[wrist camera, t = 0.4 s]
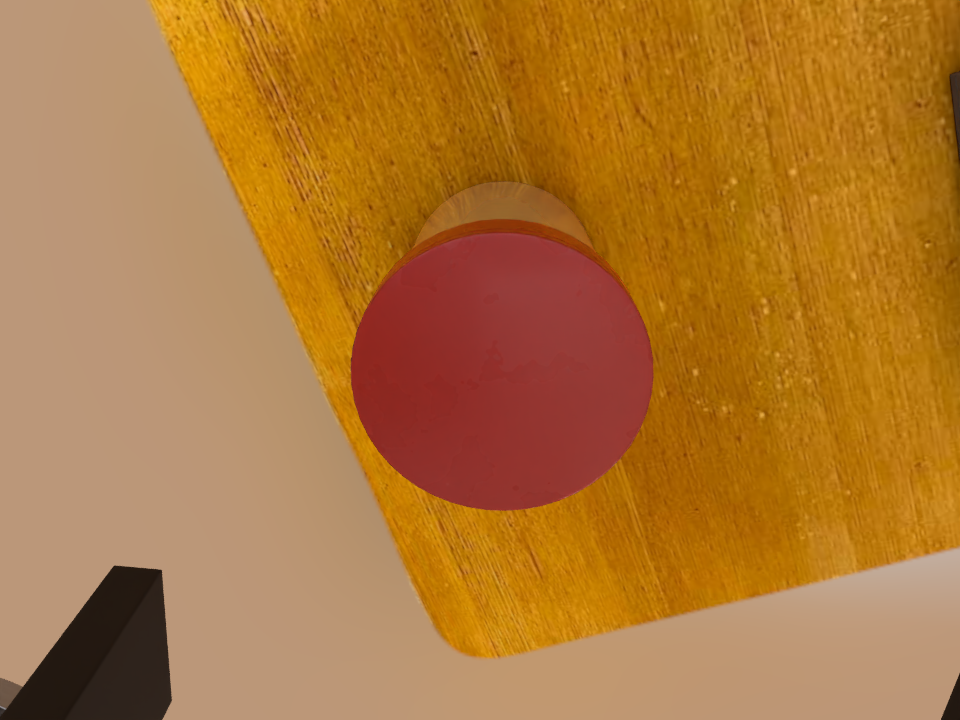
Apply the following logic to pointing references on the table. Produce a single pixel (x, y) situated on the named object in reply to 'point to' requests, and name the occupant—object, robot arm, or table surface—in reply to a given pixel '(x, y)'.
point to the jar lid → (502, 365)
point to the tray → (956, 102)
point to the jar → (504, 209)
